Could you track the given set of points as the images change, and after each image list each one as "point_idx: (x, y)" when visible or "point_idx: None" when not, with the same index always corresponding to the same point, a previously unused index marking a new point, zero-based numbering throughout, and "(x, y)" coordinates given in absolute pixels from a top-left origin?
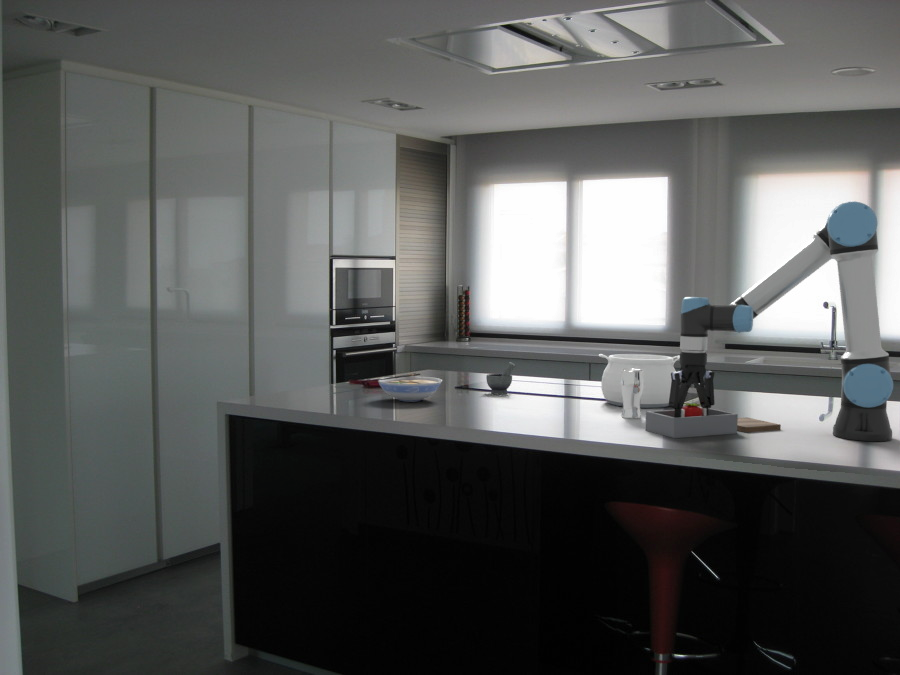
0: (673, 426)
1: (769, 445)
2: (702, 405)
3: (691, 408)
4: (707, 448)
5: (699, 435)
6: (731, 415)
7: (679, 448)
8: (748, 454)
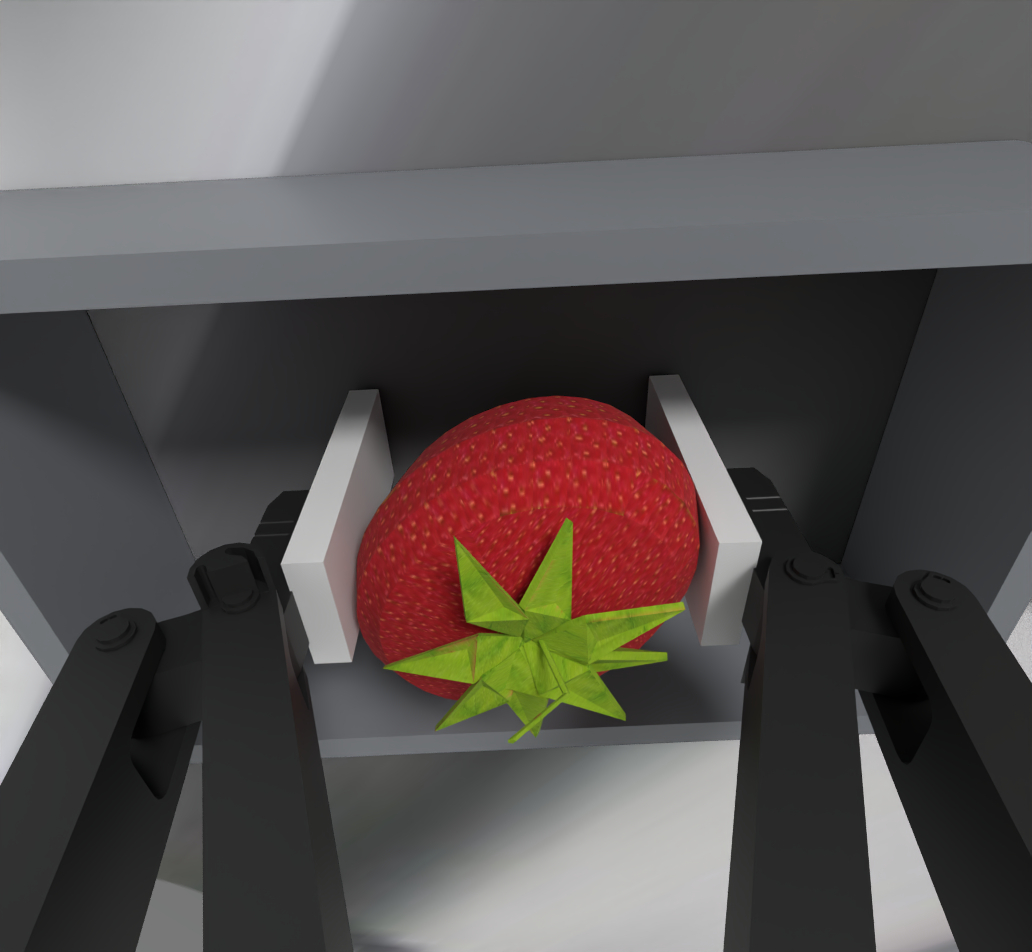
0: None
1: (676, 845)
2: (763, 604)
3: (450, 690)
4: None
5: None
6: (864, 726)
7: None
8: (411, 923)
